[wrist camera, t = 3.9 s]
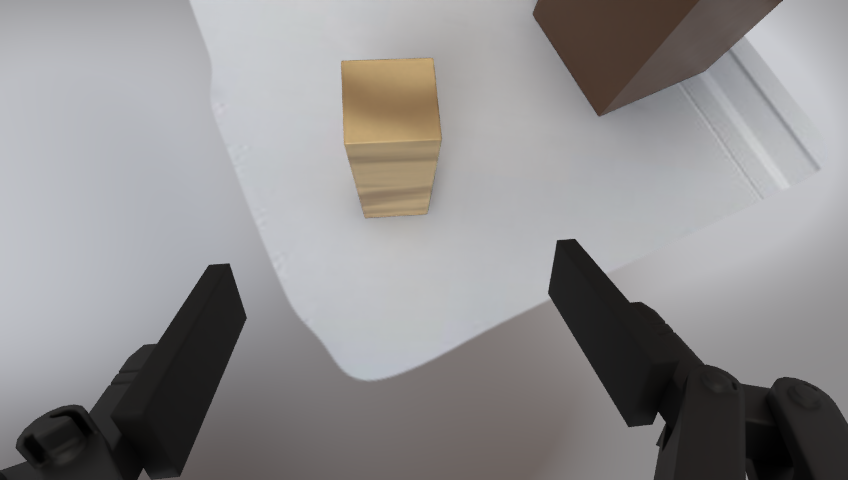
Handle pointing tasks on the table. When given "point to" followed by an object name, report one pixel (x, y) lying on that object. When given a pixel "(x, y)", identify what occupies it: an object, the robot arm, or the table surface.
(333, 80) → the table surface
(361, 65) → the block
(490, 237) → the table surface
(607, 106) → the pedestal with orange tray
